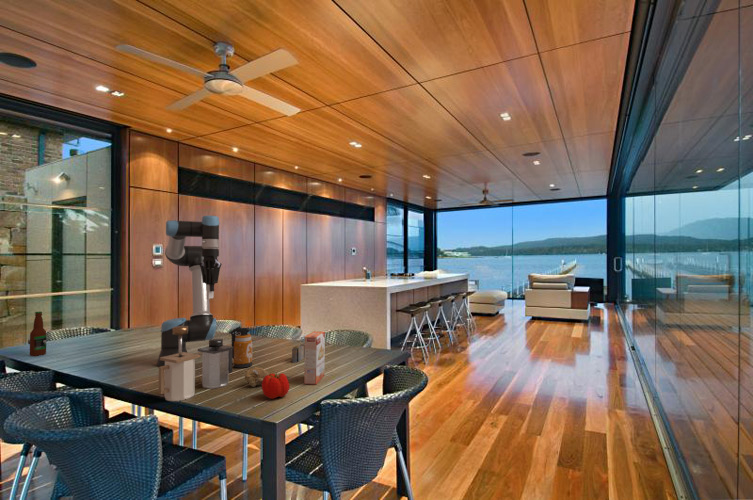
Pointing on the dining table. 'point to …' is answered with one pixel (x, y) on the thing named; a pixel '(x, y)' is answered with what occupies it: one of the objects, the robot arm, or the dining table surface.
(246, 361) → the canister
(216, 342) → the steel plunger
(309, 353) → the cracker box
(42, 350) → the bottle
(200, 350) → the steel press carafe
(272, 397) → the tomato
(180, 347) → the brass press plunger
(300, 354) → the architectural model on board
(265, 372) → the seashell
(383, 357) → the dining table surface
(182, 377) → the ceramic press carafe
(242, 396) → the dining table surface
